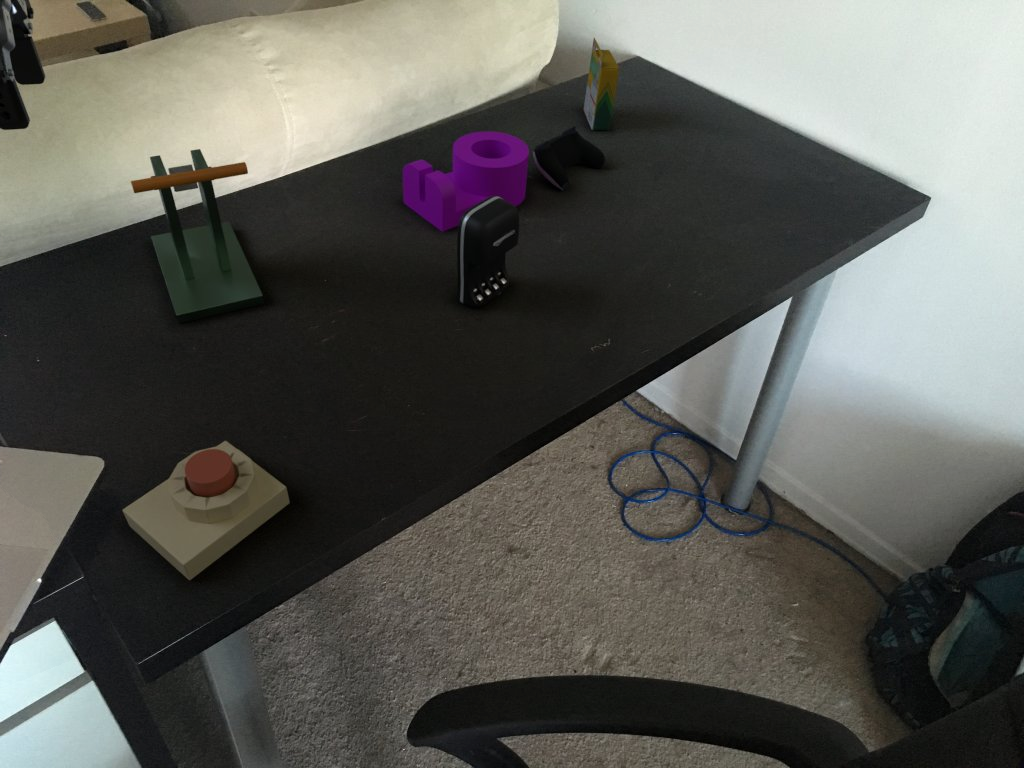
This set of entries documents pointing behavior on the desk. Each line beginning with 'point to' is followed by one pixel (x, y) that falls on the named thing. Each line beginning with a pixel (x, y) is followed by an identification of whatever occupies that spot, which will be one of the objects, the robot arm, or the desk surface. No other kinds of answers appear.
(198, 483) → the stop button
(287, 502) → the stop housing
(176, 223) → the switch bracket
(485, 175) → the purple bearing bracket
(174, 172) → the lever
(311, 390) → the desk surface
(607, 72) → the crayon box
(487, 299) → the battery charger
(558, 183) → the gaming controller
